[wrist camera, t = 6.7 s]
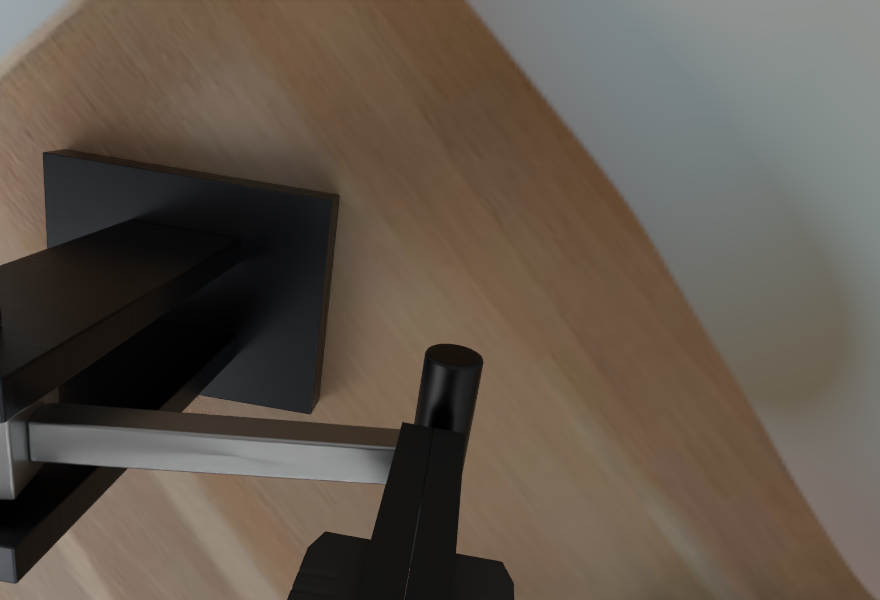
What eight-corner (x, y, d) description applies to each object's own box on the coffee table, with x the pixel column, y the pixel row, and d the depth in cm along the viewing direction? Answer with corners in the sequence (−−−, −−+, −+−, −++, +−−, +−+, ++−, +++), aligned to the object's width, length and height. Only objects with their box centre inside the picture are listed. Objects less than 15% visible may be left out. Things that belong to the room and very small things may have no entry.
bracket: (340, 194, 25) (169, 312, 12) (319, 400, 28) (162, 680, 14) (64, 148, 25) (-407, 213, 12) (71, 357, 28) (-301, 594, 15)
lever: (475, 337, 17) (492, 379, 15) (441, 524, 19) (451, 587, 16) (-74, 282, 15) (-153, 320, 13) (-49, 498, 17) (-114, 564, 14)
